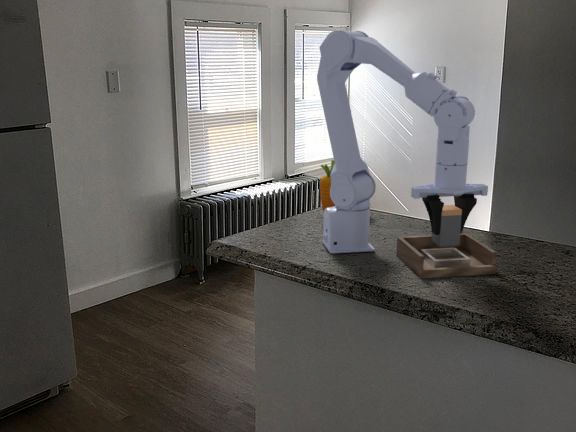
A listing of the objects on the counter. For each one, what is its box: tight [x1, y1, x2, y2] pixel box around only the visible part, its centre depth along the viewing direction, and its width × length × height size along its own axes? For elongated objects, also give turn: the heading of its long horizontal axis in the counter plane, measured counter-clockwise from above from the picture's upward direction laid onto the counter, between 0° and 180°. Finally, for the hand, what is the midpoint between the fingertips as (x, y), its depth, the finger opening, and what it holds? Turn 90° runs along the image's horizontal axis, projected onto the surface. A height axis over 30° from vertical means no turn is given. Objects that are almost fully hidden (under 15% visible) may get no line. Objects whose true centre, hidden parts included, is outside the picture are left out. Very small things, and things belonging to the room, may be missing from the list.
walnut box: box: [396, 232, 498, 279], centre depth 120 cm, size 15×13×4 cm
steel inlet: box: [420, 247, 471, 268], centre depth 120 cm, size 7×7×2 cm
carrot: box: [319, 159, 335, 213], centre depth 148 cm, size 5×5×15 cm
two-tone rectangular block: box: [431, 204, 462, 246], centre depth 119 cm, size 4×4×7 cm
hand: (446, 232), depth 119 cm, fingers closed on two-tone rectangular block, 4 cm apart
